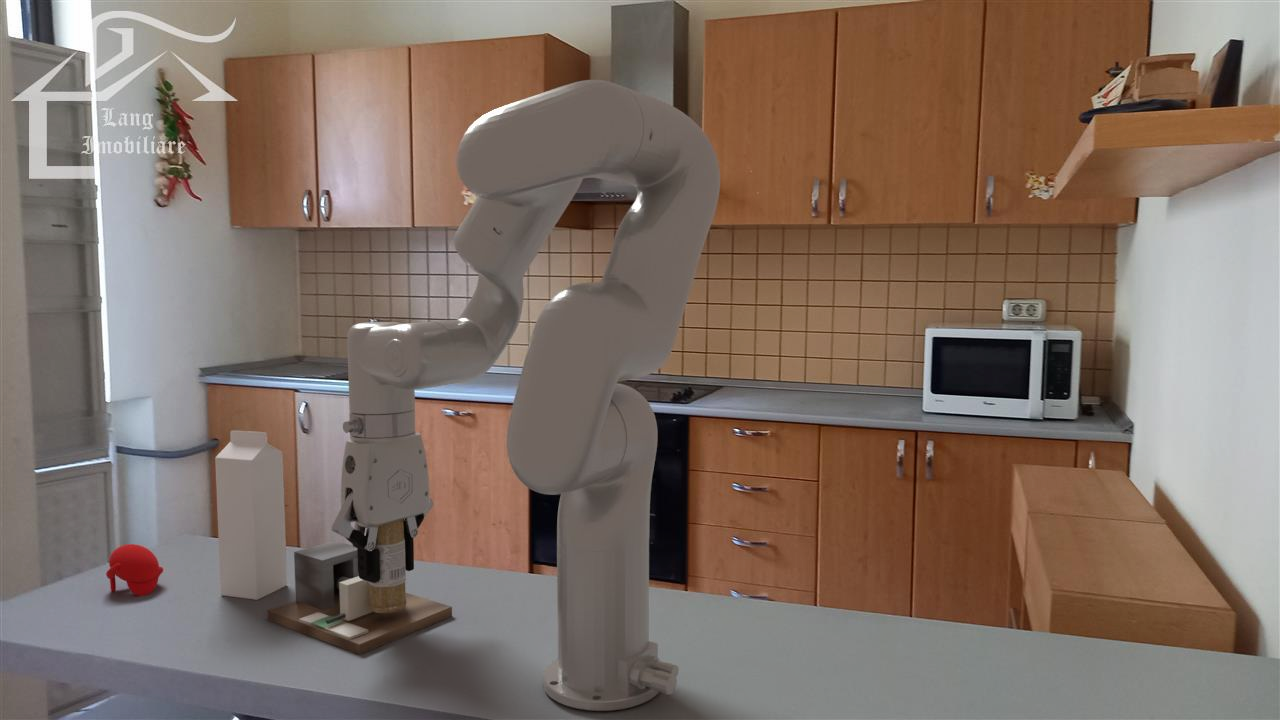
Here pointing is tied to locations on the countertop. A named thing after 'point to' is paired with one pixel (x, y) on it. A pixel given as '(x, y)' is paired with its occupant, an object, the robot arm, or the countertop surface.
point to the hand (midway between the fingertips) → (386, 572)
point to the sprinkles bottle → (389, 570)
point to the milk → (250, 516)
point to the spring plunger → (352, 599)
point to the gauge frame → (322, 602)
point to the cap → (134, 568)
